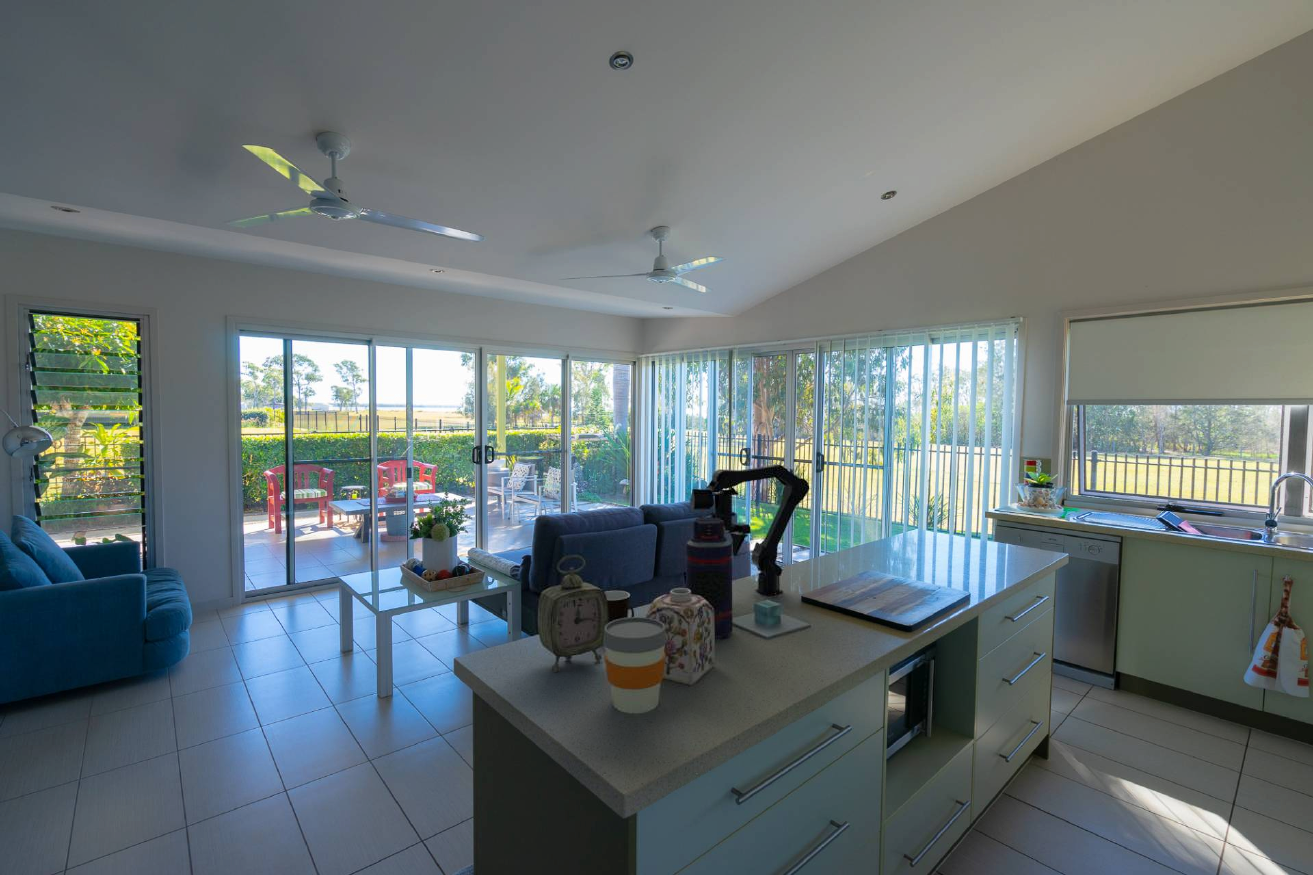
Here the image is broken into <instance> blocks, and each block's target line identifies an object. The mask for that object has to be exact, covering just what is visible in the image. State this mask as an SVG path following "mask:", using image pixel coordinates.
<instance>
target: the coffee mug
mask: <svg viewBox="0 0 1313 875" xmlns="http://www.w3.org/2000/svg"><path fill="white" fill-rule="evenodd" d="M604 592H605V594H606V598H607V603H608V615H609V619H608V623H609V622H611V621H614V620H617V619H622V618H629V617H628V616H629V609H630V612H631V617H635V611H634V608H633V607H632V606H631V605H630V597H631V594H630V593H629V592H627V591H625V590H609V591H608V590H607V591H604Z"/></svg>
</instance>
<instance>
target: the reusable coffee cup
mask: <svg viewBox="0 0 1313 875" xmlns="http://www.w3.org/2000/svg"><path fill="white" fill-rule="evenodd" d="M666 642H667V638H666V630H665V625H664V624H663V623H662V622H661V621H659V620H656V619H652V618H646V616H645V617H643V616H634V617H628V618H622V619H617V620H614V621H611V622H609V623H608V624H606V626H605V628H604V637H603V644H604V645H603V646H604V647H605V648H604V649H605V654H604V664H605V670H606V678H607V682H608V683H609V684H610V691H611V697H612V698H611V699H612V704H613V707H614V708H615V709H616V708H617V709H618V710H617V709H616V710H617V711H619V710H620V711H619V712H622V713H625V712H627V713H626V714H632V713H633V714H643V713H648V712H650V711H652V710H655V708H656V707H657V706H658V704H659V700H660V690H661V682H662V681H663V680H664V679H663V675H664V666H665V657H666V654H665V652H664V647H665V644H666Z"/></svg>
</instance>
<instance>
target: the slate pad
mask: <svg viewBox="0 0 1313 875" xmlns="http://www.w3.org/2000/svg"><path fill="white" fill-rule="evenodd" d="M732 625H733V626H735V627H737V628H740V629H742V630H744V631H745V632H749V633H751V634H754V635H756V636H759V637H761V638H763V639H766V640H769V639H772V637H773V638H775V637H774V636H776V637H779V635H780V636H782V635H781V634H783V635H786V634H788V633H787V632H790V633H792V631H793V632H796V631H795V630H797V631H799V630H803V629H802V628H804V629H807V628H810V627H811V624H810V623H807V622H805V621H802V620H801V619H797V618H794V617H791V616H788V615H785V614H783V613H781V623H778V624H774V625H770V626H765V625H763V624H760V623H758V622H755V619H754V612H752V613H747V614H744V615H739V616H735V617H732ZM809 626H810V627H809ZM806 627H807V628H806ZM785 633H786V634H785Z"/></svg>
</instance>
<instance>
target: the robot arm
mask: <svg viewBox="0 0 1313 875" xmlns="http://www.w3.org/2000/svg"><path fill="white" fill-rule="evenodd" d="M711 478H712V479H711V481H709V483H708V485H707V486H706V488H692V489H691V493H690V499H689V503H690V509H691V511H709V510H711V508H713V507H714V509H713V510H714V511H711V516H709V517H708V516H706V515H700V516H698V518H720V520H723V521H724V528H725V531H726V534H729V535H730V537H731V540H732V541H731V543H732V556H734V557H737V555H738V553H739V551H740V549H741V547H742V545H743V542H744V541H745V539H747V537H748V536H749V535H750V534H751V530H752V529H751V525H749V524H748V523H743V522H742V523H741V522H736V523H733V517H736V513H735V512H733V496H738V495H739V492H738V491H736V489H735V488H734V487H736V486H739V485H740V484H742V483H746V482H753V481H760V480H766V479H772V478H776V480H777V481H778V482H779V483H780V484H782V485H783V489H782V499H781V503H780V504H779V507H778V508H777V512H776V513H775V516H774V518H773V521H772V523H771V525H770V526H769V529H768V532H767V534H766V535H765V537H764V539H763V541H762V542H760V543H759V542H758V541H756V542H755V544H754V548H753V550H751V552H750V554H751V562H752V564H753V565H754V566H756V569H757V571H758V572H759V573H758V579H757V588H756V589H755V592H757V591H759V592H758V593H760V592H761V594H763V593H765V594H764V595H766V594H767V595H766V596H773V595H772V594H774V595H776V594H775V593H778V594H781V593H780V592H782V593H784V591H783V590H782V589H780V576H781V575H782V574H783V573H782V572H783V569H782V568H781V567H780V566H779V565H778V564H777V563H776V562H777V558H778V547H779V544H780V542H781V539H782V537H783V535H784V533H785V531H786V529H787V526H788V524H789V522H790V520H791V518H792V516H793V513H794V511H795V509H796V508H797V506H798V505H799V504H800V503H801V502H802V501H803V500H804V499H805V497H806V496H807V495H808V492H809V491H810V485H809V482H808V480H806V479H805V478H802V477H799V476H797V475H795V474H794V473H792V472H791V471H789V470H788V469H787V468H785V466H783V465H782V464H777V463H776V464H775V463H774V464H772V465H767V466H761V467H753V468H747V469H717V470H715V471H714V472H713V474H712V477H711ZM724 535H725V532H724Z"/></svg>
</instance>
